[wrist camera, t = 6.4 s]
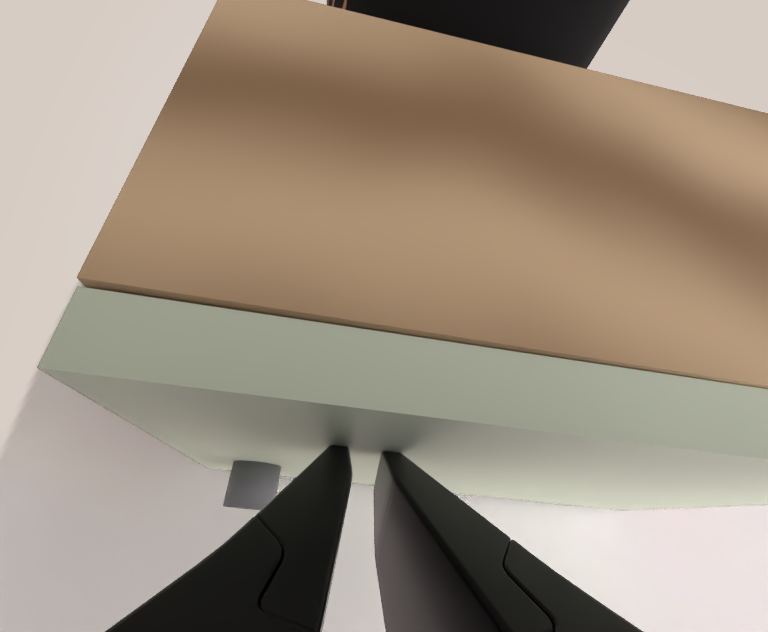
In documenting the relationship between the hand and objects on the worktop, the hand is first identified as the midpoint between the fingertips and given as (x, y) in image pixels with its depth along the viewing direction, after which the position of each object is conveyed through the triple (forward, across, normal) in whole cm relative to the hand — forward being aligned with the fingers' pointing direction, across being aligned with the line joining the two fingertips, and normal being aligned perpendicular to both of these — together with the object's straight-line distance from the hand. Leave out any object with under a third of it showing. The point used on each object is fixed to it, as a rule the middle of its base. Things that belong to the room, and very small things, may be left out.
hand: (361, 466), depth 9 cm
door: (+5, +4, -5) cm, 8 cm away
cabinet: (+9, +3, -1) cm, 10 cm away
